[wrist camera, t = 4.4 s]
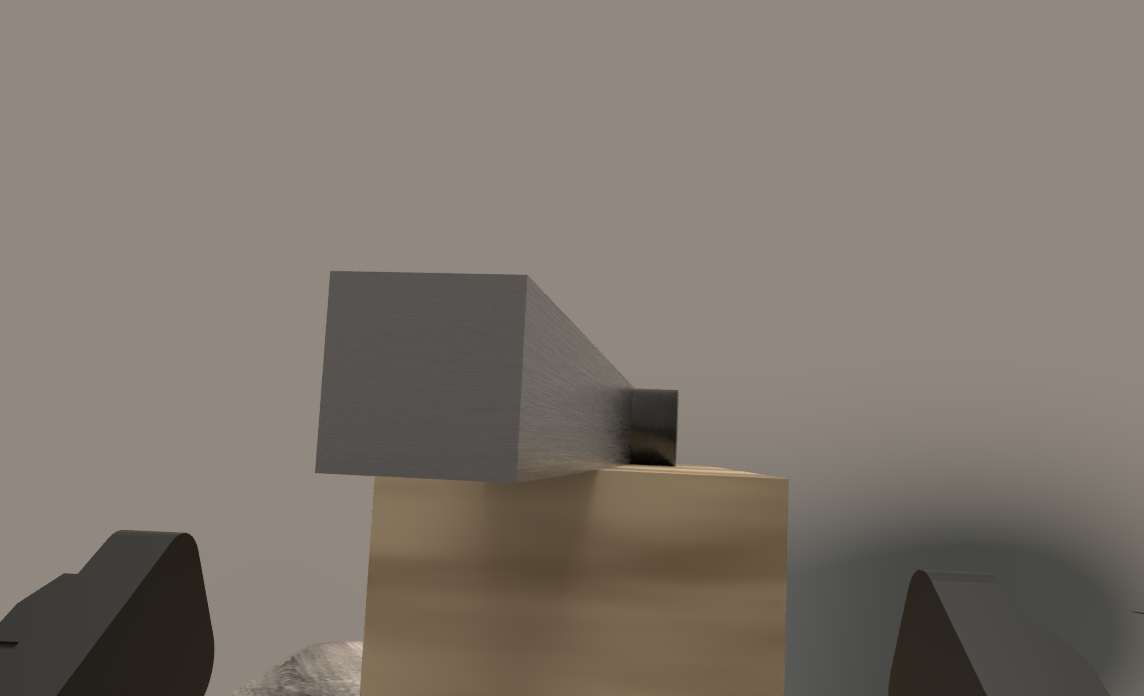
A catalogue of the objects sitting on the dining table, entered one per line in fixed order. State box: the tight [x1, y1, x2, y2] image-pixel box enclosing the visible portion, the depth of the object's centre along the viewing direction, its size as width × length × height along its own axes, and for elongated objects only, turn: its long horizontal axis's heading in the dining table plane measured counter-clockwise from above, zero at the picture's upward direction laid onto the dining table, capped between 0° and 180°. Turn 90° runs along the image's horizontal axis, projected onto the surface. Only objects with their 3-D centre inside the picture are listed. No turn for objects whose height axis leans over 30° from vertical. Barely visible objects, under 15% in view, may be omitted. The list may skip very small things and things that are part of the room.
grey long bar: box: [315, 271, 678, 483], centre depth 24 cm, size 24×6×3 cm, turn 172°
